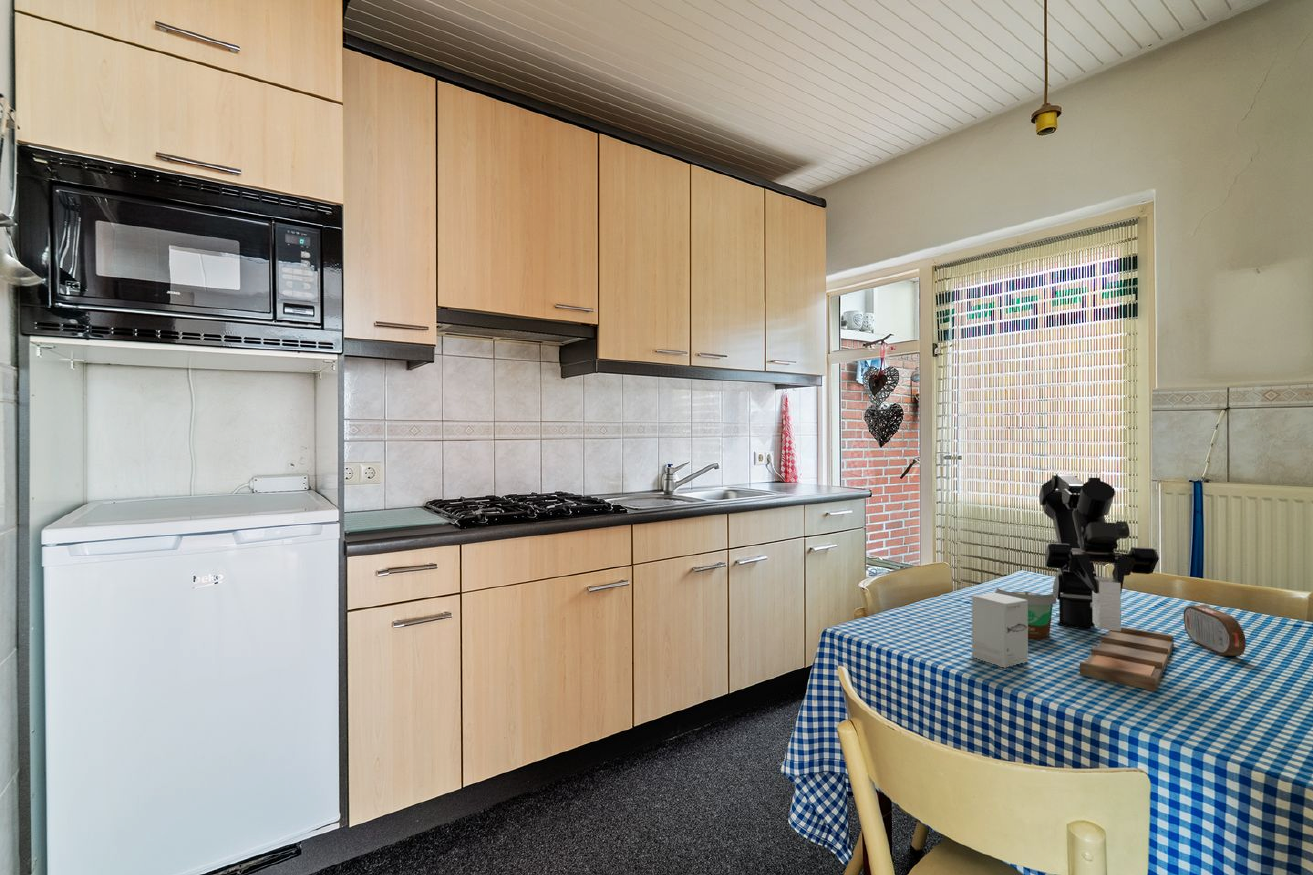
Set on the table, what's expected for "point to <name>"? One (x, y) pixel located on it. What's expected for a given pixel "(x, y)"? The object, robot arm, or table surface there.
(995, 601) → the supplement box
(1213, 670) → the table surface
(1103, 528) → the robot arm
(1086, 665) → the rack
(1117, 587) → the brushed grey box
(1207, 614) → the tin
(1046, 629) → the food container
